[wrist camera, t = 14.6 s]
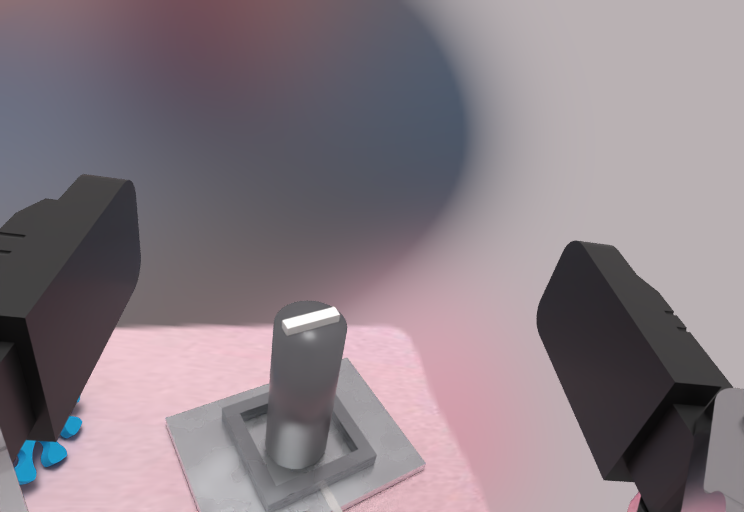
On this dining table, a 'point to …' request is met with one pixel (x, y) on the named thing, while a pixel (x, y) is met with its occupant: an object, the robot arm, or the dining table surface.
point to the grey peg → (303, 381)
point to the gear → (44, 452)
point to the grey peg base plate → (283, 485)
